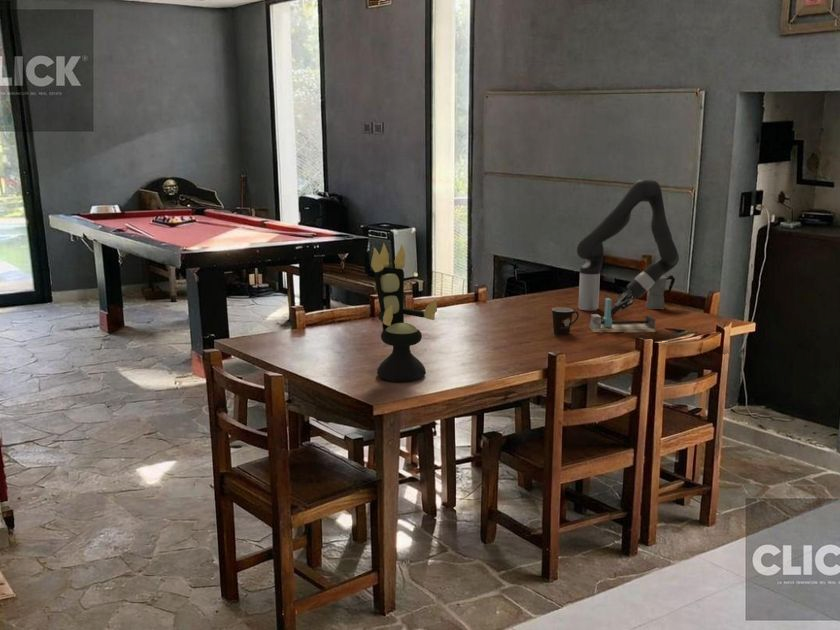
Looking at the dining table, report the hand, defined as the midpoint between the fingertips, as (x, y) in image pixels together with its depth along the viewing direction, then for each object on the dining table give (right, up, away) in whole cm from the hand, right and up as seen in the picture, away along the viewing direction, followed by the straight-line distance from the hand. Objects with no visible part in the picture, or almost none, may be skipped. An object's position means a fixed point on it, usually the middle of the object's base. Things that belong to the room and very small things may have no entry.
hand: (610, 313), depth 356 cm
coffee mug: (-20, -8, -4) cm, 22 cm away
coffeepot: (+33, +3, +46) cm, 57 cm away
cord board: (+5, -7, +2) cm, 9 cm away
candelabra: (-88, -22, -64) cm, 111 cm away
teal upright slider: (-1, -5, +1) cm, 5 cm away
